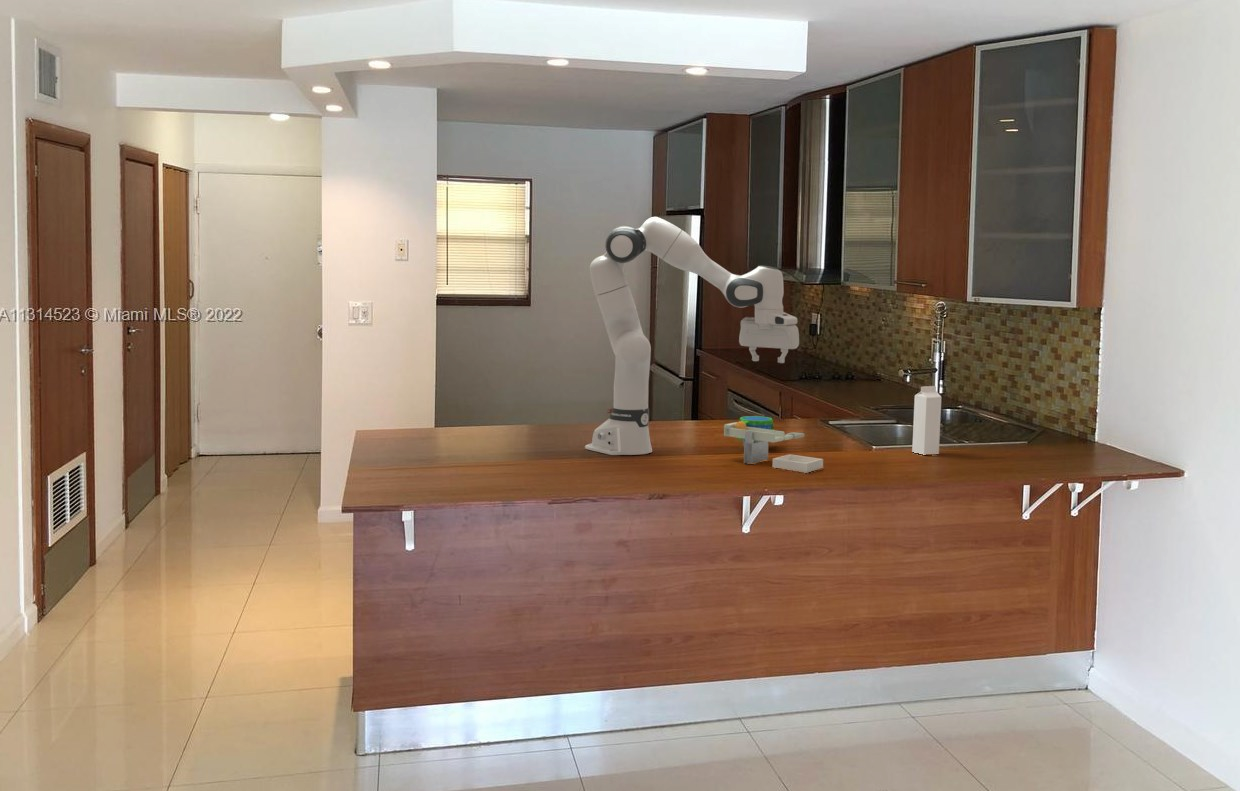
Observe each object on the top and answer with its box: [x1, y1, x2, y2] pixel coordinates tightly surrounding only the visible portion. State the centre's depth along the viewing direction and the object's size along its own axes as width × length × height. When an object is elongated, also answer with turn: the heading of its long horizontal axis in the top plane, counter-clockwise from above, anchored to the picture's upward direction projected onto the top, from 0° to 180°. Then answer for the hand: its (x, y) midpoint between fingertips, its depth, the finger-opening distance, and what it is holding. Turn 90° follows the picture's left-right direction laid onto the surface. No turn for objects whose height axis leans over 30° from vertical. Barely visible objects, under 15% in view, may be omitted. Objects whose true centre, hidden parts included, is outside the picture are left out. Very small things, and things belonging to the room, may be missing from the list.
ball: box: [735, 420, 746, 430], centre depth 340 cm, size 4×4×4 cm
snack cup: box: [736, 415, 775, 445], centre depth 360 cm, size 16×10×10 cm
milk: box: [911, 385, 942, 455], centre depth 352 cm, size 6×6×22 cm
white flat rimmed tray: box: [772, 453, 824, 474], centre depth 328 cm, size 12×10×3 cm
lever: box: [723, 422, 805, 444], centre depth 340 cm, size 20×16×4 cm
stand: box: [743, 432, 769, 464], centre depth 337 cm, size 3×9×10 cm, turn 140°
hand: (768, 361), depth 345 cm, fingers open, 8 cm apart
